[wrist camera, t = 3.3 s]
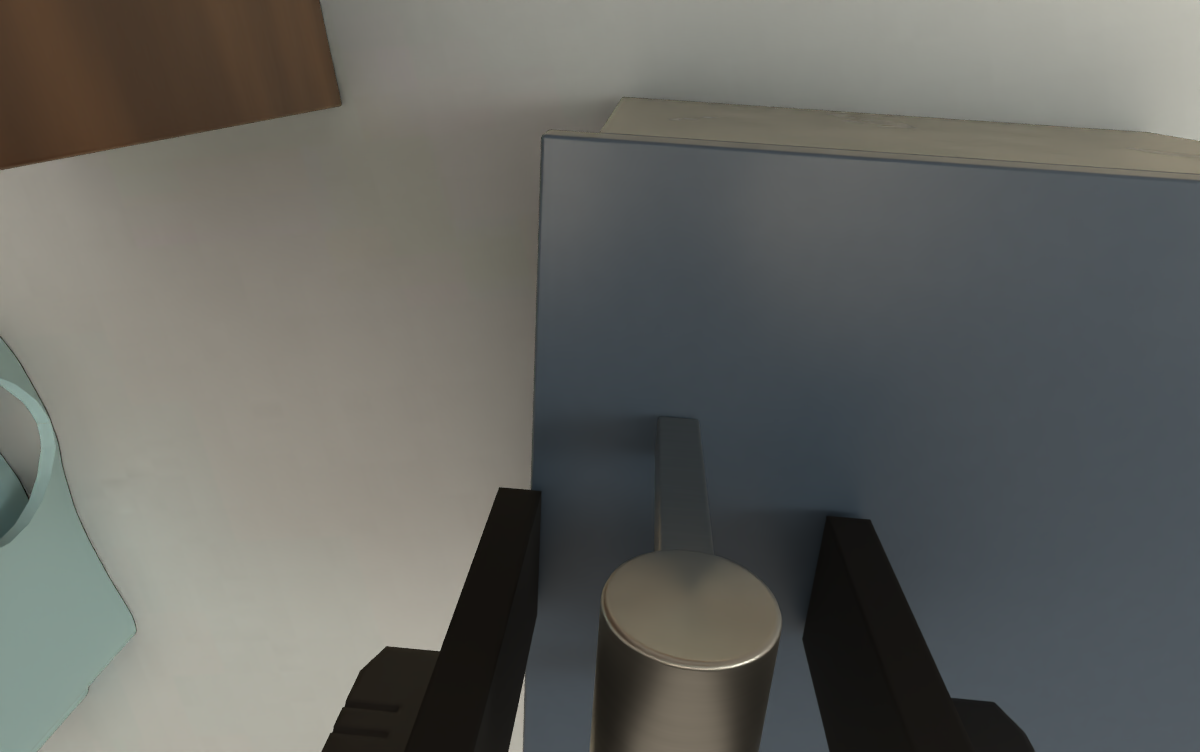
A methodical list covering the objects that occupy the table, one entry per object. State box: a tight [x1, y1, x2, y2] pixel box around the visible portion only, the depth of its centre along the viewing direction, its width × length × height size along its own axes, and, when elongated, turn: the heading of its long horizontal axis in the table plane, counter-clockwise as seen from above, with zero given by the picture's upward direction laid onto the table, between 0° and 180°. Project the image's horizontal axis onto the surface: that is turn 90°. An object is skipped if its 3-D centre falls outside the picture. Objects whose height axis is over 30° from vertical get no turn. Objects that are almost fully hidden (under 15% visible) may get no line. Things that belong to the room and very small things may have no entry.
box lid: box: [523, 130, 1200, 752], centre depth 12 cm, size 15×15×7 cm
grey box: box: [600, 97, 1200, 175], centre depth 20 cm, size 14×15×10 cm
